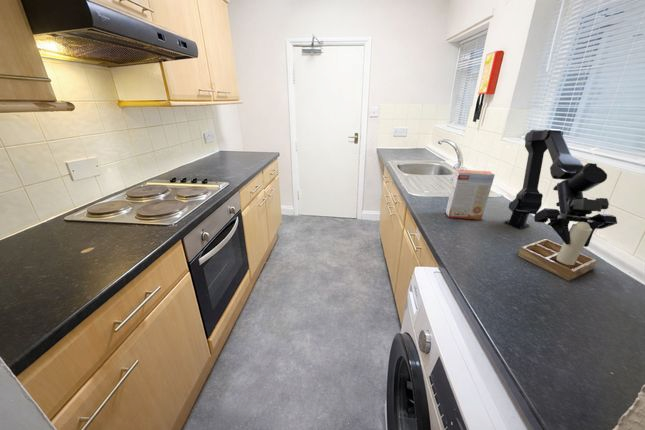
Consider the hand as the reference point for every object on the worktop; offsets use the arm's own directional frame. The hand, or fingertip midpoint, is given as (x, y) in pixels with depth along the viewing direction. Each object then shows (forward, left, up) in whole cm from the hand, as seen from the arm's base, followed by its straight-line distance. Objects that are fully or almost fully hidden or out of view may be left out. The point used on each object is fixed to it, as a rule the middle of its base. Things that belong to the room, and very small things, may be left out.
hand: (576, 245), depth 79 cm
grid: (-4, -4, -10) cm, 12 cm away
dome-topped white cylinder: (-1, -1, -7) cm, 7 cm away
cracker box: (-7, -42, -10) cm, 44 cm away
